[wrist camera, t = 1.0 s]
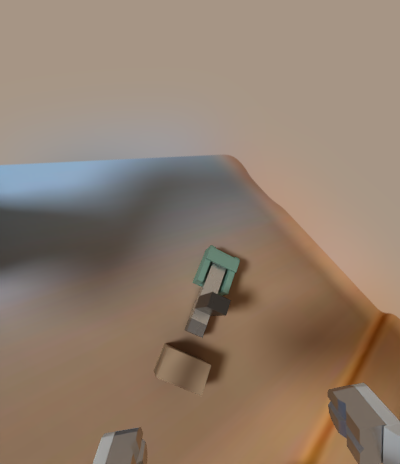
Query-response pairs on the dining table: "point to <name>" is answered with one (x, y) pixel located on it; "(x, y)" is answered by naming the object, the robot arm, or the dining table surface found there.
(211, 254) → the green slotted block
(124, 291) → the dining table surface
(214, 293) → the two-tone rectangular rod
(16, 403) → the dining table surface
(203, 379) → the socket block
